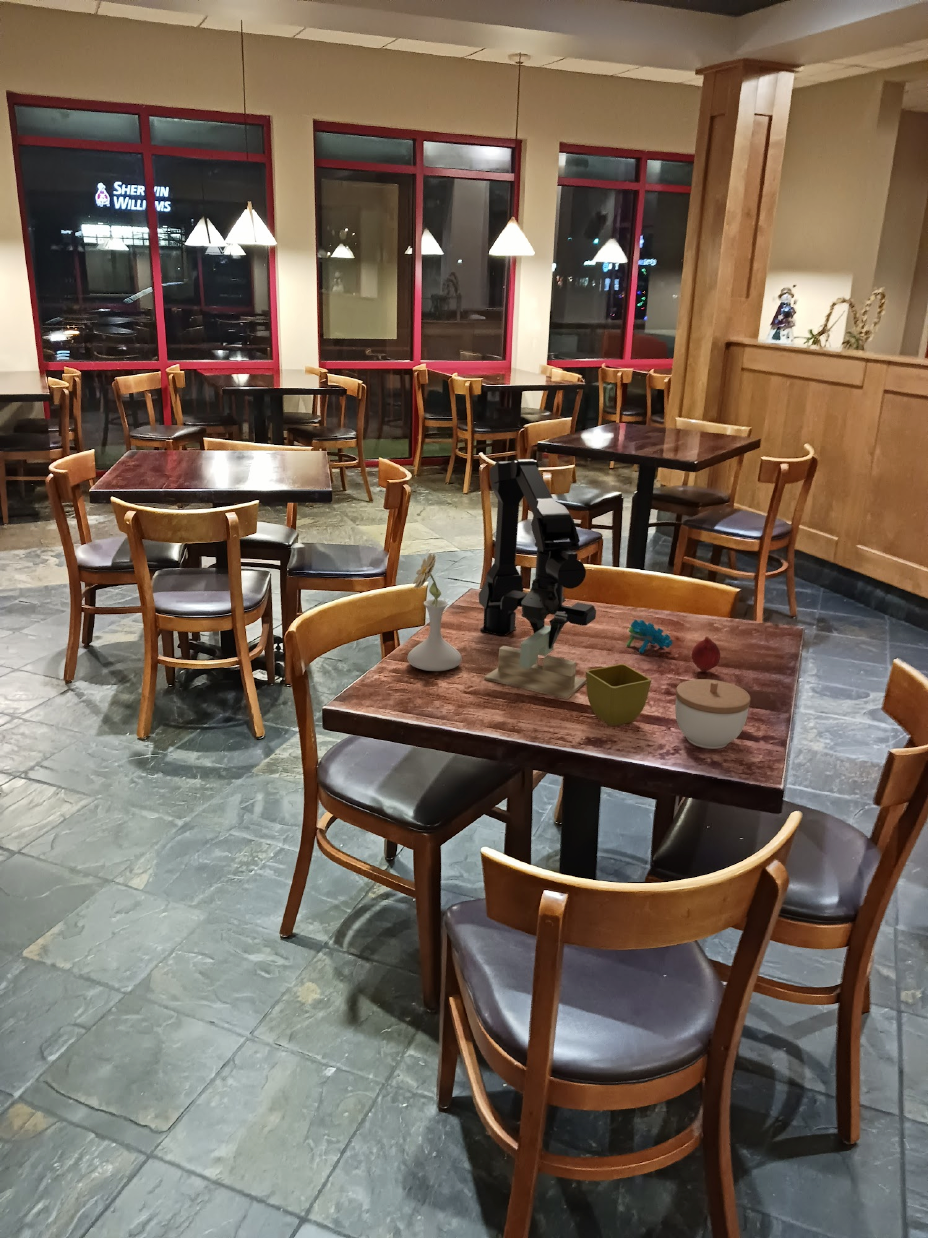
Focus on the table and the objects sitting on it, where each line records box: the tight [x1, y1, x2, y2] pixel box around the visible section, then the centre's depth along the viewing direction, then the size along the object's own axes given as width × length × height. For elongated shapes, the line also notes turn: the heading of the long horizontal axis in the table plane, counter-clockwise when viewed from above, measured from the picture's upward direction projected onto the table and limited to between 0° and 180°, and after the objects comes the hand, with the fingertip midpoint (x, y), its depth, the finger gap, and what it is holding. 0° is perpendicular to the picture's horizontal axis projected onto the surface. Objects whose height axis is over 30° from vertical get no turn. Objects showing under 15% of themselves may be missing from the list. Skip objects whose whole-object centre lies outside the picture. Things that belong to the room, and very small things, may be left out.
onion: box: [690, 634, 721, 673], centre depth 192 cm, size 6×6×8 cm
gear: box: [626, 619, 674, 654], centre depth 203 cm, size 11×6×10 cm
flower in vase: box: [406, 552, 463, 672], centre depth 187 cm, size 13×11×25 cm
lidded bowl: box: [674, 678, 752, 750], centre depth 161 cm, size 13×13×11 cm
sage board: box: [519, 624, 555, 669], centre depth 183 cm, size 2×12×5 cm, turn 151°
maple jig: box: [484, 645, 586, 700], centre depth 185 cm, size 18×10×6 cm, turn 61°
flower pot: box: [585, 663, 652, 727], centre depth 168 cm, size 9×9×9 cm
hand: (545, 647), depth 187 cm, fingers closed on sage board, 2 cm apart
